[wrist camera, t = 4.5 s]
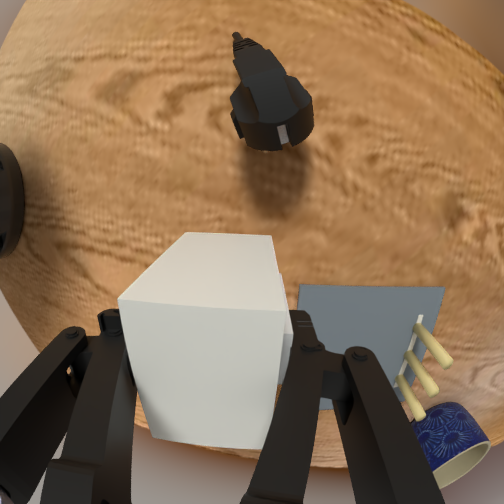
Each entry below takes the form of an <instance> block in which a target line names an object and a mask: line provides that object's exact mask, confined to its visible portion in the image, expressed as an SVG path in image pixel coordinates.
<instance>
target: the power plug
mask: <svg viewBox="0 0 504 504" xmlns="http://www.w3.org/2000/svg"><path fill="white" fill-rule="evenodd" d="M232 36H233V38H234V40H235V42H233V54H234V58H235V59H234V60H233V64H234V66H235V68H236V70H237V72H238V74H239V76H240V78H241V83H240V84H239V86H238V87H237V88H236V90H235V91H234V92H233V94H232V95H231V97H230V100H231V103H232V106H233V110H232V112H231V113H230V115H231V118H232V121H233V123H234V126H235V128H236V130H237V133H238V135H239V138H240V139H241V138H245V140H246V143H247V145H248V146H249V147H251V148H254V149H257V150H261V151H262V152H263V153H268V152H269V151H279V150H282V145H281V144H284V143H287V142H290V143H291V145H292V147H293V146H295V145H297V144H299V143H301V142H302V141H304V140H305V139H306V138H307V137H308V136H309V135H310V133H311V132H312V130H313V127H314V119H313V116H314V114H313V105H312V97H311V96H310V94H309V93H308V91H307V90H305V89H304V88H303V86H302V85H301V84H300V82H299V81H298V80H297V78H295V77H292V76H288V75H286V71H285V69H284V67H283V66H282V65H281V63H280V62H279V61H278V60H277V58H276V57H275V56H274V54H273V53H272V52H271V51H270V50H269V49H268V50H265V49H264V48H263V47H262V46H261V45H260V44H258V43H257V42H255V41H253V40H251V39H250V38H245V39H243V38H242V37H241V35H240V34H239V33H238V32H234V33H233V34H232Z"/></svg>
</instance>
